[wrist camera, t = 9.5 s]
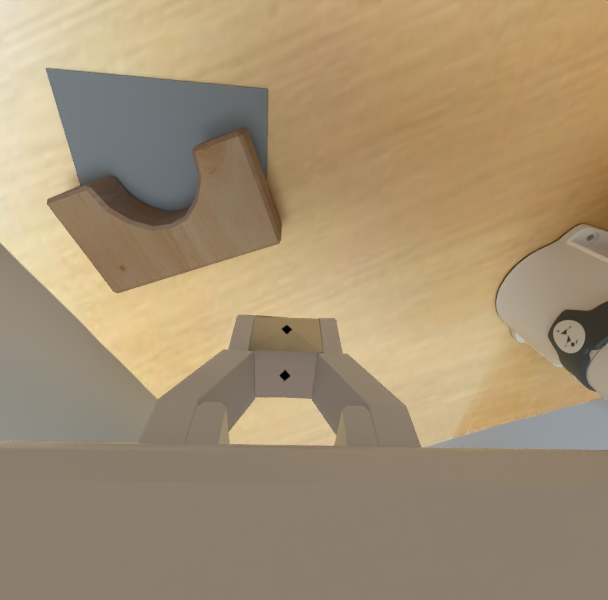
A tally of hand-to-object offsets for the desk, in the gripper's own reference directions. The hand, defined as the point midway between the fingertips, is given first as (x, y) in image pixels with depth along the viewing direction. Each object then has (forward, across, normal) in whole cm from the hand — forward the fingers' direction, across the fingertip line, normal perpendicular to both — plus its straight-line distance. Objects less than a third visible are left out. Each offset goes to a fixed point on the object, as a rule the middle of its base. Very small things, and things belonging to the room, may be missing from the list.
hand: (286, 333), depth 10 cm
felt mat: (+28, +13, 0) cm, 31 cm away
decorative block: (+26, +2, +2) cm, 26 cm away
